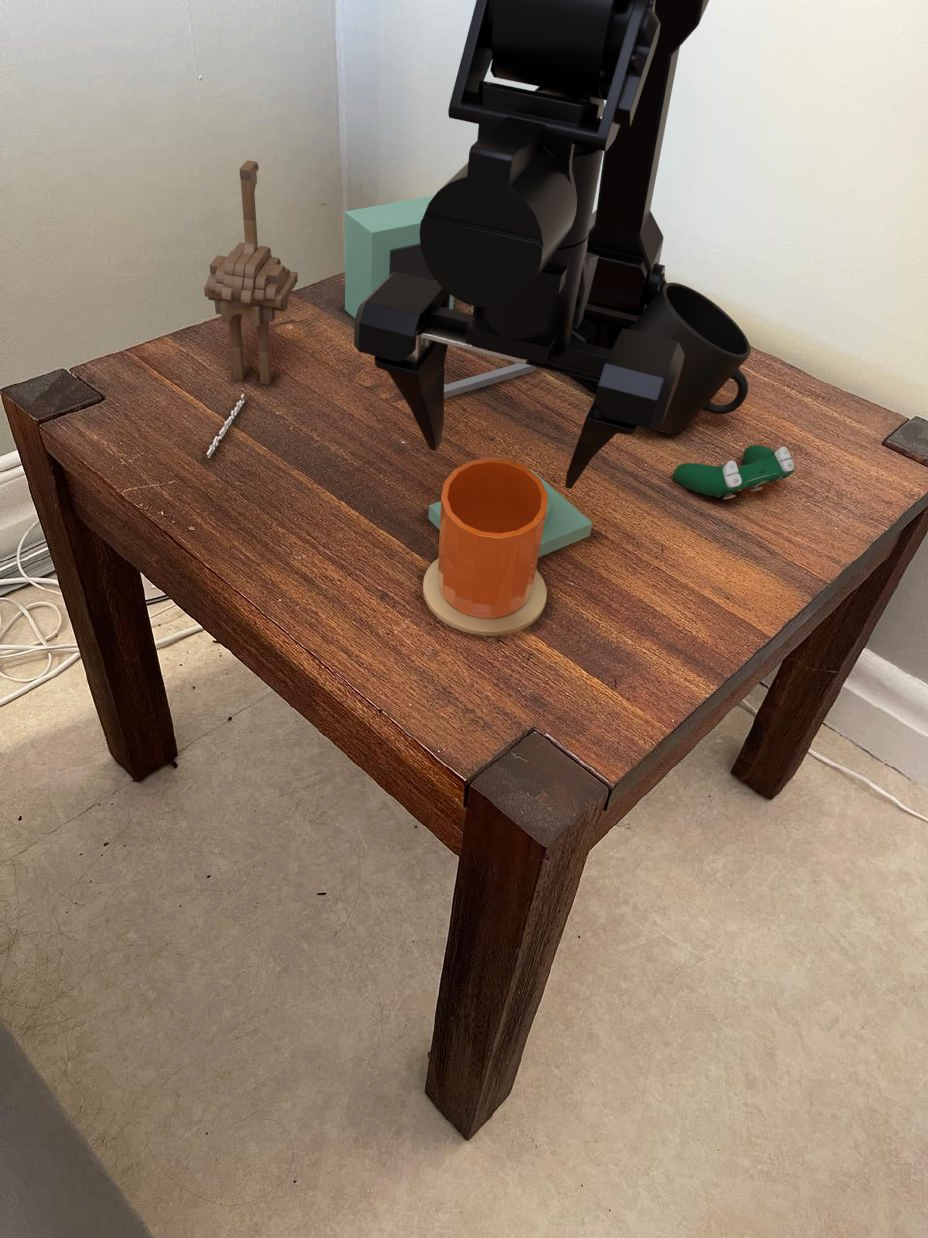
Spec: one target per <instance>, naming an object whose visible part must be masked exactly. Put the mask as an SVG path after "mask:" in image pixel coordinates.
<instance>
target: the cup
mask: <svg viewBox="0 0 928 1238" xmlns="http://www.w3.org/2000/svg"><path fill="white" fill-rule="evenodd" d="M530 469H531V468H529V467H527V466H525V465H523V464H520V463H518V462H516V461H513V460H512V459H506V458H499V457H485V458H478V459H472V460H469V461H467V462H465V463H464V464H462V465H460V466H458V467H456V468H454V469H453V470H452V471H451V473H450V474H449V476H448V477H447V478H446V479H445V480H444V482H443V485H442V490H441V491H442V492H441V496H440V501H441V515H440V530H439V537H438V539H439V540H438V558H439V560H438V581H439V587H440V590H441V592H442V594H443V596H444V598H445V599H446V600H447V601H448V603H449V604H450V605H451V606H453V607H454V608H455V609H457V610H458V611H460V612H462V613H464V614H466V615H469V616H472V617H476V618H484V619H492V618H499V617H503V616H506V615H509V614H511V613H513V612H515V611H516V610H518V609H519V608H520V607H521V606H522V605H523V604H524V603H525V602H526V601H527V600H528V598H529V596H530V594H531V591H532V588H533V583H534V578H535V572H536V570H537V566H538V562H539V561H538V560H539V557H538V556H539V550H540V544H541V539H542V533H543V528H544V522H545V517H546V511H547V501H548V494H547V492H546V490H545V488H544V485H543V483H542V481H541V479H540V478H538V477H537V476H536V475H535V474H534V473H533V472H532V471H531V470H532V469H531V470H530Z"/></svg>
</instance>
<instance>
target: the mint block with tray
mask: <svg viewBox="0 0 928 1238" xmlns="http://www.w3.org/2000/svg"><path fill="white" fill-rule="evenodd" d="M434 196H435V195H427V196H421V197H416V198H411V199H405V200H400V201H394V202H390V203H384V204H379V205H373V206H367V207H362V208H358V209H352V210H346V211H344V311H346V312H347V313H348V314H349V315H350V316H351V317H352V318H353V319H355V317H356V313H357V310H358V307H359V306H360V305H361V304H362V303H363V302H364V301H365V300H366V299H367V298H368V297H369V295H370V294H371V293H372V292H373V291H374V290H375V289H376V288H377V287H378V286H379V285H380V284H381V283H382V282H383V281H384V280H385V279H386V278H388V277H389V276H390V275H391V274H393V273H394V272H398V273H402V274H406V275H410V276H414V277H418V278H422V279H426V280H430V281H434V282H437V281H436V280H435V279H434V278H433V276H432V275H431V273H430V271H429V269H428V267H427V266H426V264H425V261H424V257H423V254H422V251H421V245H420V225H421V220H422V219H423V216H424V214H425V211H426V209H427V206H428V204H429V202H430V201H431V200H432V198H433V197H434ZM454 303H455V298H454V297H453V296H451V295H450V302H449V309H452V310H454ZM511 362H512V363H513V364H511V365H507V366H504V367H501V368H497V369H494V370H491V371H487V372H483V373H481V374H477V375H473V376H470V377H466V378H464V379H460V380H456V381H454V382H450V383H445V382H444V400H445V399H447V398H451V397H454V396H458V395H461V394H464V393H469V392H470V391H474V390H477V389H480V388H484V387H487V386H490V385H494V384H497V383H501V382H504V381H507V380H511V379H514V378H516V377H517V378H518V377H520V376H523V375H527V374H530V373H534V372H536V370H537V367H535V366H532V365H528V364H520V363H517V362H513V361H511Z"/></svg>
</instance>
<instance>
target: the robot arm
mask: <svg viewBox="0 0 928 1238" xmlns="http://www.w3.org/2000/svg"><path fill="white" fill-rule="evenodd" d="M709 2H710V0H476V1H475V5H474V7H473V11H472V16H471V19H470V20H471V21H470V25H469V28H468V31H467V35H466V39H465V43H464V47H463V51H462V55H461V58H460V62H459V66H458V70H457V74H456V77H455V81H454V85H453V89H452V94H451V97H450V101H449V106H448V111H447V112H448V115H447V116H448V118H449V119H452V120H458V121H462V122H466V123H470V124H471V123H472V124H477V125H478V128H477V139H476V141H475V142H474V143H473V144H472V145H471V146H470V148H469V152H468V159H467V162H466V163H465V164H464V165H463V166H462V167H461V168H460V169H459V170H458V171H457V172H456V173H455V174H454V175H453V176H452V177H451V178H450V179H449V180H447V182H446V183H445V184H444V185H442V187H441V188H440V189H438V191H437V192H436V193H435V194H434V195H433V196H434V197H433V198H432V200H431V201H430V202H429V204H428V206H427V209H426V211H425V214H424V216H423V219H422V220H421V225H420V245H421V251H422V254H423V257H424V261H425V264H426V266H427V267H428V269H429V271H430V273H431V275H432V276H433V278H434V279H435V280H436V281H437V282H434V281H430V280H426V279H422V278H418V277H414V276H410V275H406V274H402V273H398V272H394V273H393V274H391V275H390V276H389V277H388V278H386V279H385V280H384V281H383V282H382V283H381V284H380V285H379V286H378V287H377V288H376V289H375V290H374V291H373V292H372V293H371V294H370V295H369V297H368V298H367V299H366V300H365V301H364V302H363V303H362V304H361V305H360V306H359V307H358V310H357V313H356V317H355V318H354V320H353V346H354V347H355V349H356V350H357V351H358V352H359V353H362V354H366V355H370V356H373V357H374V366H375V367H376V368H377V369H380V370H383V371H385V372H387V373H388V374H389V376H390V378H391V379H392V381H393V383H394V384H395V386H396V388H397V389H398V390H399V392H400V395H402V397H403V399H404V401H405V402H406V404H407V405H408V407H409V409H410V411H411V413H412V415H413V418H414V420H415V422H416V424H417V426H418V428H419V430H420V433H421V434H422V436H423V438H424V441H425V442H426V444H427V446H428V448H429V450H430V451H435V452H436V451H437V450H438V448H439V447H440V446H441V443H442V437H443V431H444V424H445V399H444V383H445V365H446V364H445V363H446V356H447V352H448V348H449V346H452V347H456V348H460V349H464V350H468V351H471V352H474V353H478V354H482V355H486V356H490V357H494V358H497V359H501V360H505V361H510V362H512V361H513V362H512V363H514V362H517V363H520V364H528V365H532V366H535V367H536V368H539V369H543V370H547V371H551V372H554V373H559V374H563V375H566V376H570V377H571V378H572V379H574V380H575V381H577V382H578V383H579V384H580V385H582V387H584V388H586V389H587V390H588V391H590V392H592V393H595V396H594V400H593V402H592V405H591V406H590V408H589V410H588V412H587V415H586V417H585V419H584V422H583V425H582V428H581V430H580V434H579V436H578V439H577V442H576V445H575V448H574V451H573V454H572V457H571V460H570V463H569V466H568V468H567V471H566V478H565V485H564V486H565V487H564V488H566V489H569V490H572V489H573V488H574V486H575V484H576V483H577V481H578V480H579V478H580V477H581V476H582V474H583V473H584V472H585V470H586V468H587V467H588V465H589V464H590V462H591V461H592V460H593V458H594V457H595V456H596V454H597V453H598V452H600V450H602V448H603V447H604V446H606V444H608V443H609V442H610V441H611V440H612V439H613V438H614V437H615V436H616V435H617V434H621V435H625V436H632V435H635V434H636V433H637V432H638V428H643V429H647V430H652V429H653V428H658V427H661V426H662V423H663V421H664V418H665V416H666V413H667V410H668V408H669V405H670V402H671V400H672V397H673V395H674V392H675V389H676V387H677V384H678V381H679V377H680V373H681V370H682V366H683V362H684V358H685V354H684V352H683V350H682V348H681V346H680V344H679V342H675V341H671V340H667V339H663V338H659V337H655V336H651V335H647V334H643V333H639V332H635V331H631V330H630V328H631V327H632V326H633V324H634V323H635V322H636V320H637V319H638V318H639V316H640V315H641V314H642V313H643V311H644V310H645V309H646V307H647V306H648V305H649V303H650V302H651V301H652V299H653V298H654V297H655V296H656V294H657V293H658V292H659V290H660V289H661V288H662V286H663V285H665V284H666V283H668V281H667V280H666V265H665V264H661V263H660V261H661V256H662V251H663V250H662V249H663V244H664V235H663V233H662V230H661V229H660V227H659V225H658V223H657V220H656V219H655V216H654V215H653V213H652V211H651V207H652V201H653V197H654V191H655V185H656V180H657V174H658V170H659V165H660V164H659V163H660V158H661V152H662V148H663V142H664V136H665V130H666V125H667V120H668V115H669V109H670V105H671V104H670V103H671V96H672V92H673V88H674V87H673V86H674V81H675V76H676V71H677V66H678V60H679V54H680V48H681V46H682V45H683V44H684V43H685V41H686V40H688V38H689V37H690V36H691V34H692V33H693V32H694V31H695V30H696V29H697V28H698V26H699V25H700V24H701V23H700V22H701V20H702V19H703V16H704V14H705V12H706V9H707V7H708V4H709ZM489 68H490V69H489ZM488 71H489V72H490V74H491V75H492V77H493V78H496V79H500V80H504V81H509V82H514V83H519V84H525V85H530V86H534V87H537V88H535V90H531V89H526V88H521V87H516V86H511V85H506V84H502V83H497V82H493V81H486V80H485V79H486V76H487V74H488ZM600 172H601V173H600ZM599 179H600V181H599ZM598 185H599V189H598ZM597 189H598V190H597ZM597 191H598V196H597V202H596V203H597V204H596V209H595V210H594V207H595V200H596V195H597ZM593 211H594V212H593ZM450 295H451V296H453V297H454V299H456V300H458V301H460V302H463V303H464V304H466V305H469V306H472V307H473V310H472V314H471V313H468V312H464V311H460V310H455V309H453V310H452V309H449V302H450Z"/></svg>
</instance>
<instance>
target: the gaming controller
mask: <svg viewBox="0 0 928 1238" xmlns="http://www.w3.org/2000/svg"><path fill="white" fill-rule="evenodd" d="M742 461H743V464H744V465H741V466H737V462H736V461H735V460H733V459H731V460H728V461H727V462H726V463H724V464H722V465H711V464H704V463H697V462H684V463H680V464H679V465H678V466H676V468H675V469H674V471H673V473H672V476H671V477H672V478H673V480H675V481H676V483H678V484H680V485H681V486H683V487H684V488H687V489H688V490H690V491H693V492H695V493H699V494H702V495H706V496H711V497H712V496H715V498H720V497H722V496H723V497H722V500H724V501H725V500H729V499H733V498H736V494H735V493H736V492H739V491H742V490H746V489H749V491H750V493H754V492H757V491H761V490H762V489H763V486H762V485H764V484H767V483H773V482H776V481H779V480H784V479H787V478H788V477H789V476H791V475H792V474H794V472H795V464H794V460H793V459H792V455H791V453H790V452H789V449H788V448H787V447H786V446H784V445H783V446H780V447H779V449H775V450H774V449H772V448H770V447H768V446H764V445H761V444H753V445H749V446H748V447H746V448H745V449H744V451H743V453H742ZM750 488H751V489H750Z"/></svg>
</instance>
